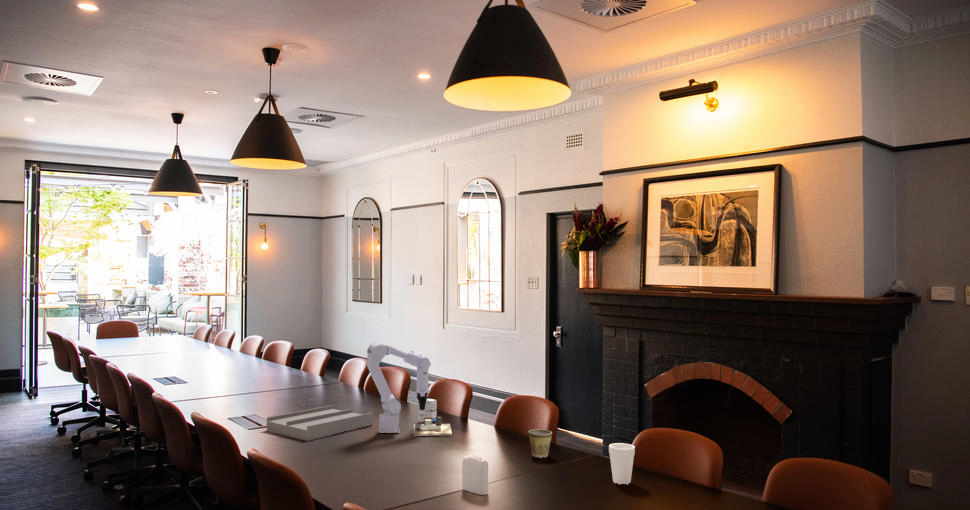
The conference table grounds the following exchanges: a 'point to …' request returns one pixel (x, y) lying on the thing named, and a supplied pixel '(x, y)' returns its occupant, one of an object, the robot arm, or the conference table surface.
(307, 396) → the conference table surface
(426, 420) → the block
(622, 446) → the foam cup
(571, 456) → the conference table surface
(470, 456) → the white upright slab
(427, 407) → the ink box
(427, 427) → the lever
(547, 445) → the ceramic cup
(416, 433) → the base
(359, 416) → the desk organizer
